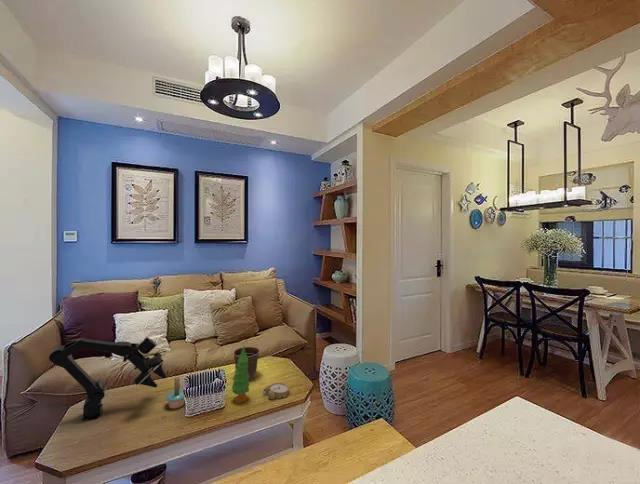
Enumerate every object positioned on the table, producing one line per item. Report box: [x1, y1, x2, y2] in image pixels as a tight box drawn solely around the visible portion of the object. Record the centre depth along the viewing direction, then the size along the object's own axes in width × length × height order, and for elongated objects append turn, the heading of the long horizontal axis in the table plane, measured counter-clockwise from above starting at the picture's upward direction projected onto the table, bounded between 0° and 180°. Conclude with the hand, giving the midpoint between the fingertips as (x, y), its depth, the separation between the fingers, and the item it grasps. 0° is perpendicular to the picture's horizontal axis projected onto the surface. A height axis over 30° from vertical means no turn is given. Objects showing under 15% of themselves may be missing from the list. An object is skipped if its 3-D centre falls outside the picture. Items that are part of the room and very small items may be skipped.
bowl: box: [168, 399, 185, 410], centre depth 149 cm, size 7×7×4 cm
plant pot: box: [232, 346, 261, 381], centre depth 180 cm, size 16×16×16 cm
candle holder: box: [262, 382, 291, 400], centre depth 161 cm, size 11×5×15 cm
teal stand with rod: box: [165, 376, 184, 402], centre depth 149 cm, size 10×10×10 cm
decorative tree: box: [231, 346, 250, 404], centre depth 155 cm, size 10×9×30 cm
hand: (161, 382), depth 148 cm, fingers open, 9 cm apart
